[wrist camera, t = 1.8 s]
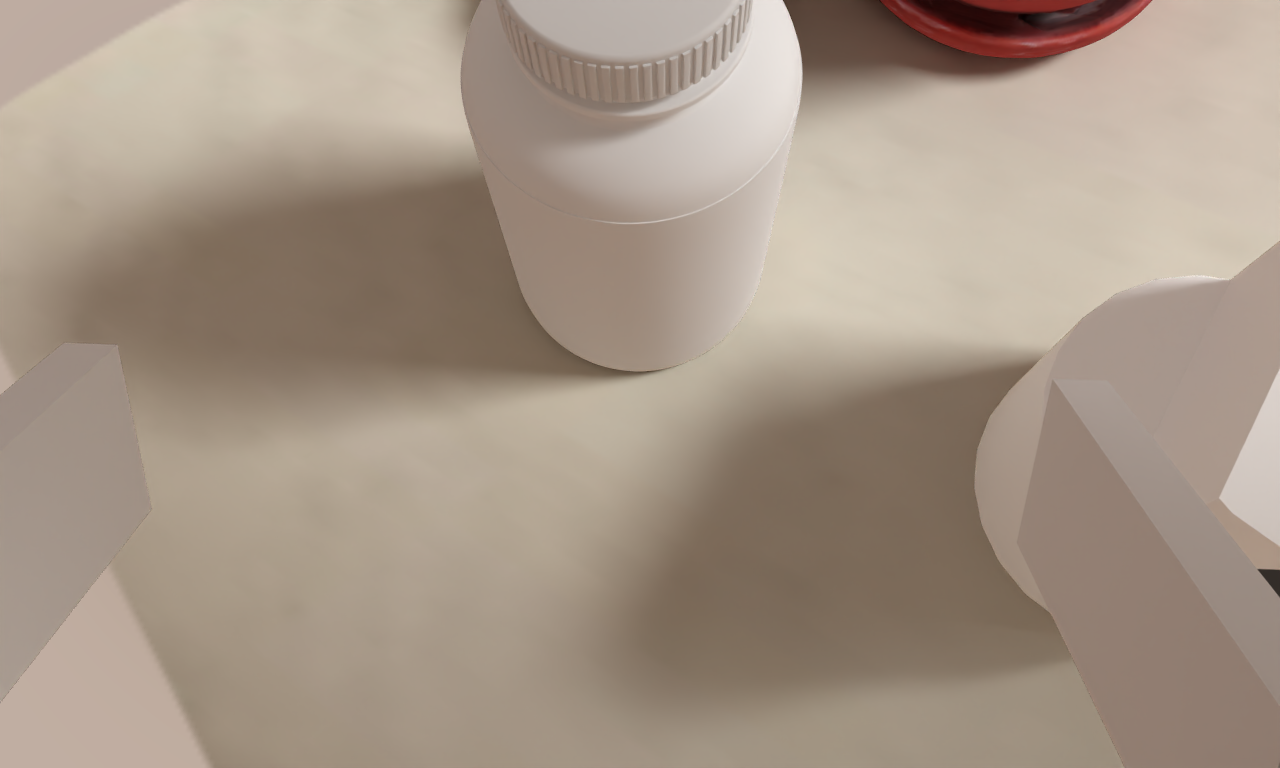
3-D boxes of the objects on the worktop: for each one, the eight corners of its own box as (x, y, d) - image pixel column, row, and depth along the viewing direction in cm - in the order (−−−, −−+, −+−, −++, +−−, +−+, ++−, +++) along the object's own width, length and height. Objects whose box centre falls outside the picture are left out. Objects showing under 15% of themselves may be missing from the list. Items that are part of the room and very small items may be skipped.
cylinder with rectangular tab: (1204, 705, 31) (1524, 683, 20) (922, 539, 33) (1068, 430, 21) (1319, 445, 33) (1666, 292, 22) (1051, 302, 35) (1246, 89, 24)
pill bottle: (467, 243, 36) (346, -86, 22) (662, 114, 37) (668, -275, 23) (611, 429, 34) (583, 201, 20) (811, 284, 35) (920, -26, 21)
